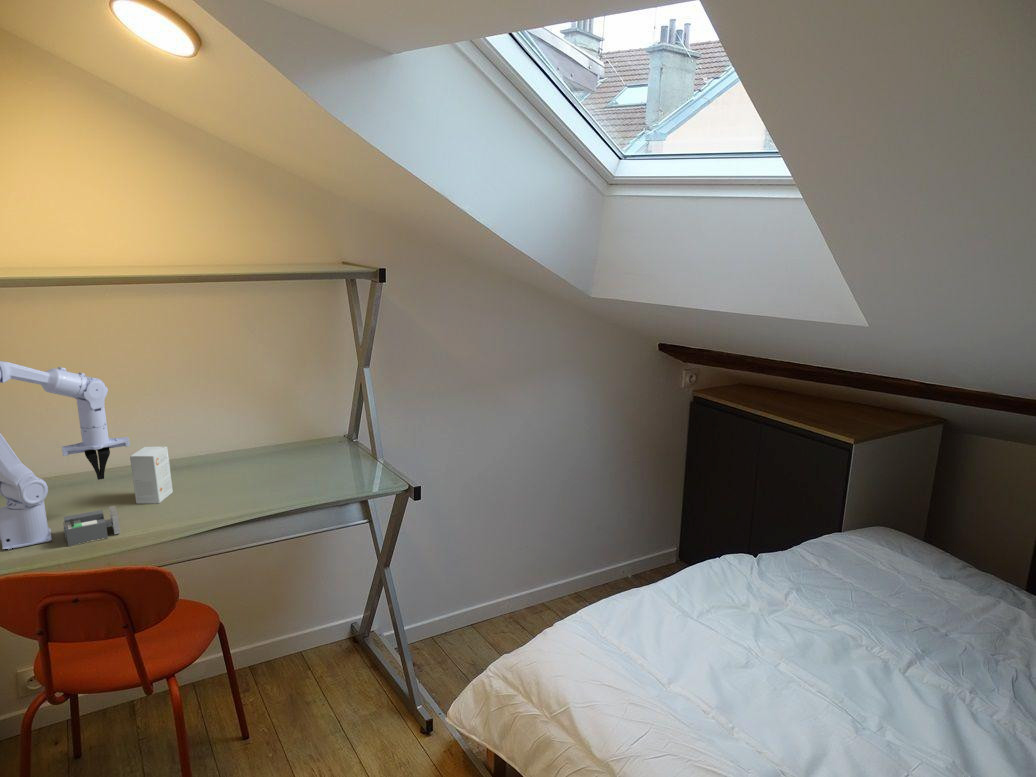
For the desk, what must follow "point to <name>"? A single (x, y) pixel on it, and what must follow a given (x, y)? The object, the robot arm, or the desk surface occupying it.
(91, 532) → the gauge housing
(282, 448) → the desk surface
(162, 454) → the small box
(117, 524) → the plunger
